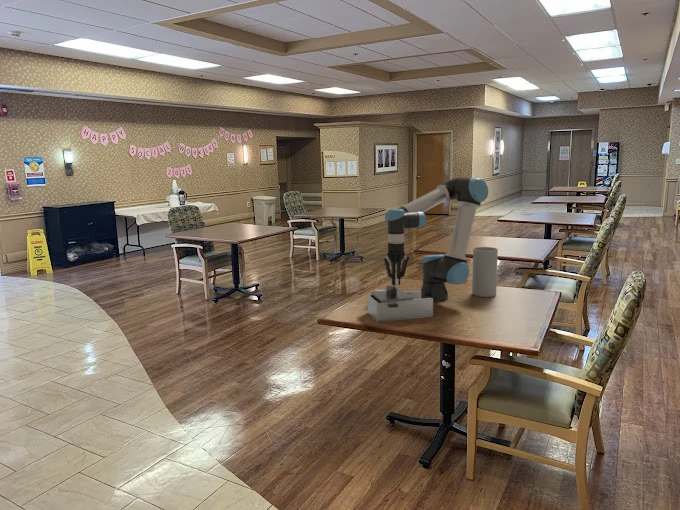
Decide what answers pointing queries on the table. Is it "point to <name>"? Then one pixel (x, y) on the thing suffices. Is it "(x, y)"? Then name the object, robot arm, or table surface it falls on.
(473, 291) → the cylinder vase
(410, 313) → the grey lidded storage box
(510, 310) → the table surface
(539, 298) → the table surface
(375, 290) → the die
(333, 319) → the table surface
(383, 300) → the lid
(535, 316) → the table surface
